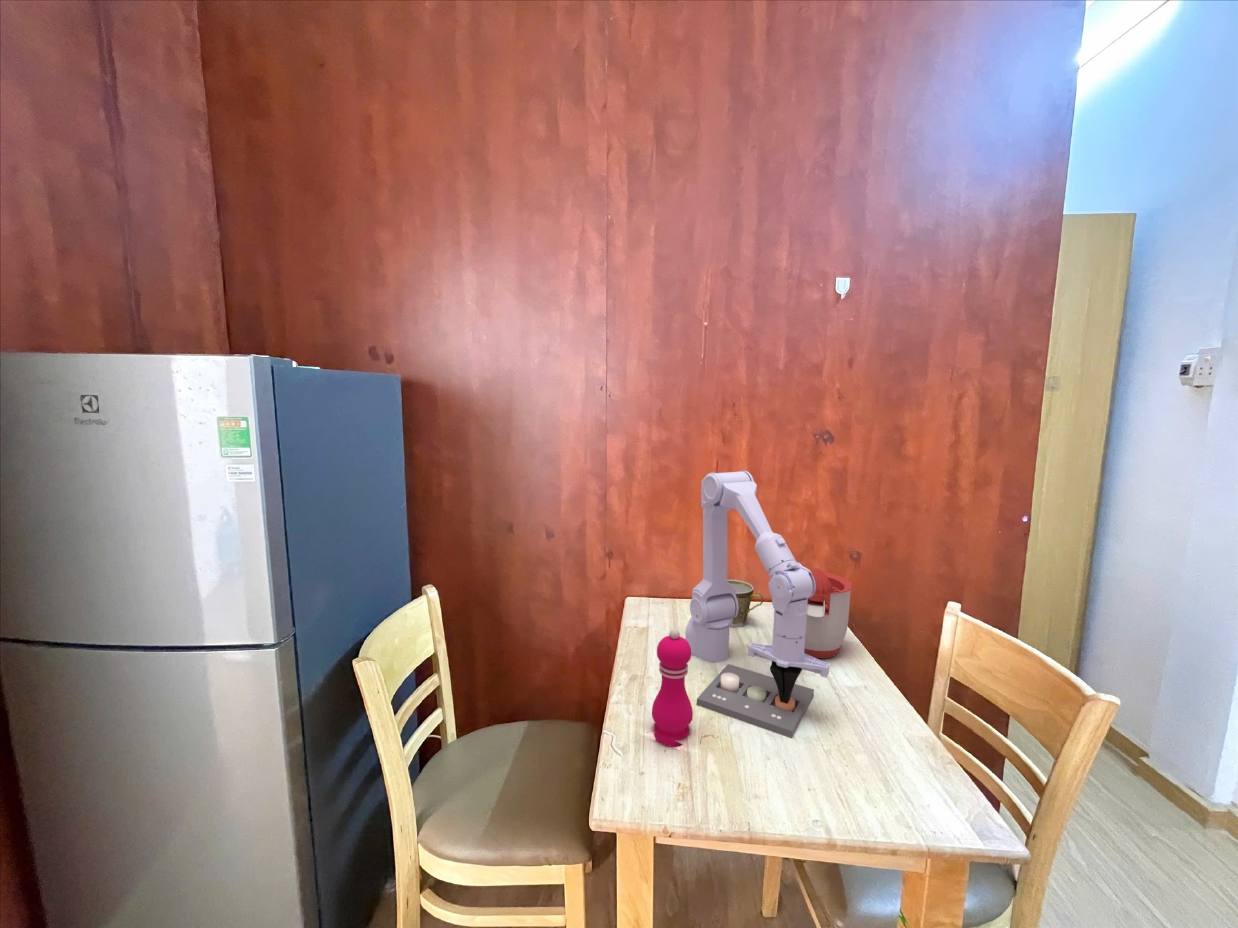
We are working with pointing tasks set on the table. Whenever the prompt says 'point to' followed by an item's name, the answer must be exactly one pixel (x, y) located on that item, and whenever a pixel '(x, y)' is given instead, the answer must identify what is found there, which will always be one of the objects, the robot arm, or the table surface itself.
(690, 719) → the pepper mill
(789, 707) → the button terracotta
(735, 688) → the button white
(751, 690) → the button green
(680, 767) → the table surface
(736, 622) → the ceramic cup
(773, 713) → the button panel
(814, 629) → the citrus juicer
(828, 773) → the table surface
